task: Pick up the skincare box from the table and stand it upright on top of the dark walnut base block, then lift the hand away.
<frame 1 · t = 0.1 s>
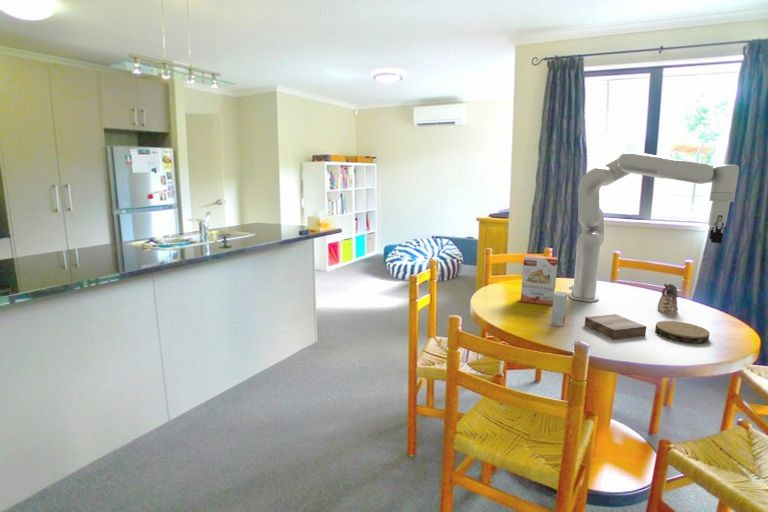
hand: (715, 241, 168), 31 cm above the table, tool pointing down, fingers open, 9 cm apart
walnut base: (613, 332, 158), on the table
wood slice coaster: (680, 336, 154), on the table
skincare box: (557, 324, 165), on the table
figurine: (667, 311, 181), on the table
cracker box: (537, 302, 192), on the table
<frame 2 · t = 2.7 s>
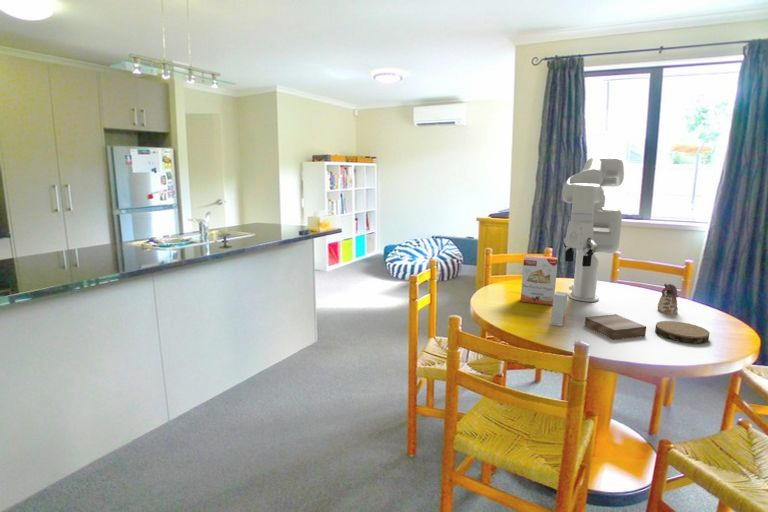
hand: (577, 263, 161), 24 cm above the table, tool pointing down, fingers open, 9 cm apart
nothing on the table moved.
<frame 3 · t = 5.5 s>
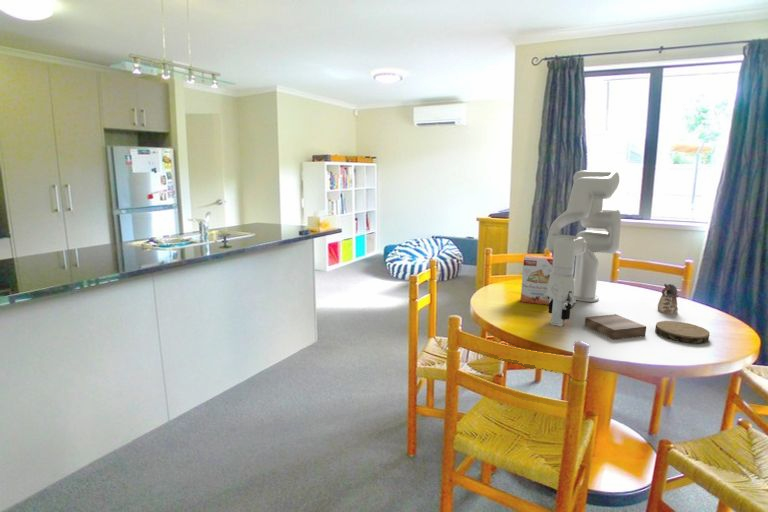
hand: (558, 315, 164), 3 cm above the table, tool pointing down, fingers closed on skincare box, 6 cm apart
skincare box: (557, 323, 165), on the table, touching gripper
everything else where it was.
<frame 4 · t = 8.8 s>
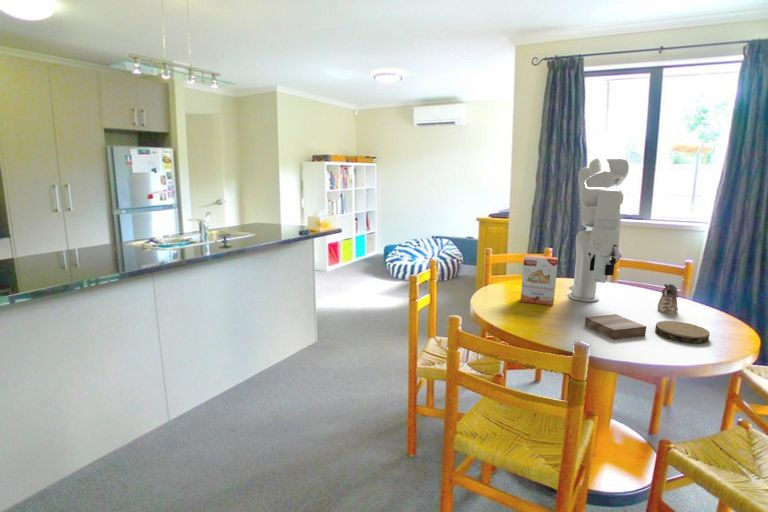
hand: (601, 272, 156), 22 cm above the table, tool pointing down, fingers closed on skincare box, 6 cm apart
skincare box: (599, 281, 157), point 18 cm above the table, touching gripper
everything else where it was.
when the fingers open (9 cm above the table, at t = 12.3 s): skincare box drops 2 cm, resting on walnut base.
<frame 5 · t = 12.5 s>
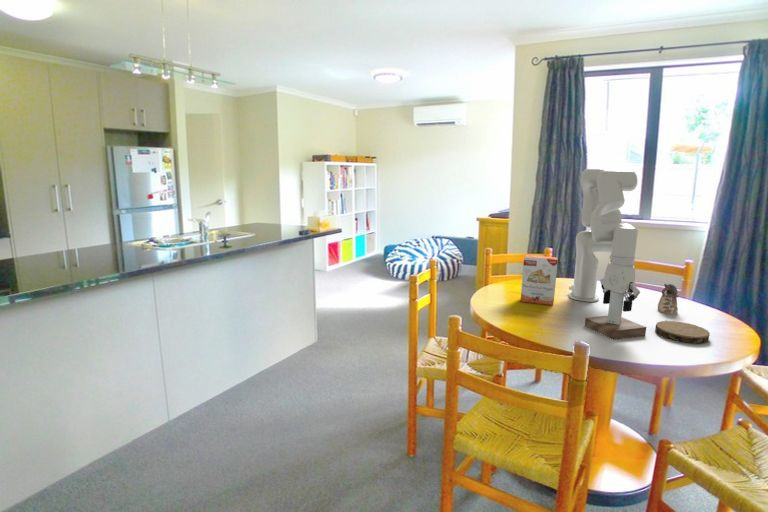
hand: (616, 307, 156), 9 cm above the table, tool pointing down, fingers open, 8 cm apart
walnut base: (613, 332, 158), on the table, touching skincare box
skincare box: (614, 322, 157), point 3 cm above the table, touching walnut base
everything else where it was.
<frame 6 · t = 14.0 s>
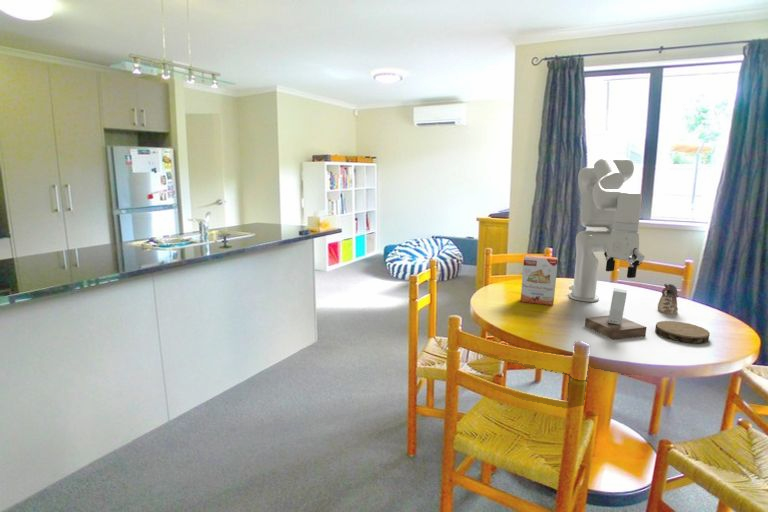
hand: (620, 274, 154), 21 cm above the table, tool pointing down, fingers open, 9 cm apart
walnut base: (613, 332, 158), on the table
skincare box: (614, 322, 157), point 3 cm above the table
everything else where it was.
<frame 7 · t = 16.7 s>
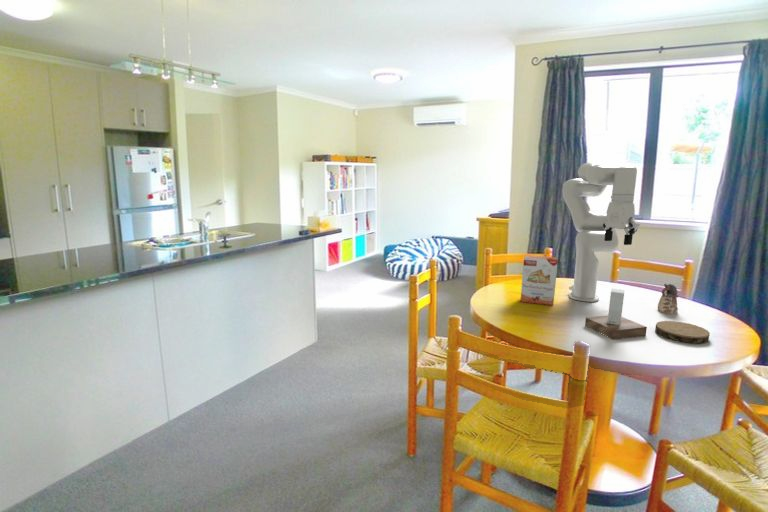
hand: (617, 242, 168), 30 cm above the table, tool pointing down, fingers open, 9 cm apart
walnut base: (614, 332, 158), on the table, touching skincare box
skincare box: (614, 322, 157), point 3 cm above the table, touching walnut base
everything else where it was.
at the end: skincare box inside the target area on the walnut base (0.6 cm from its centre), point 3.8 cm above the walnut base's base; skincare box tilted 0°; the gripper is holding nothing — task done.
